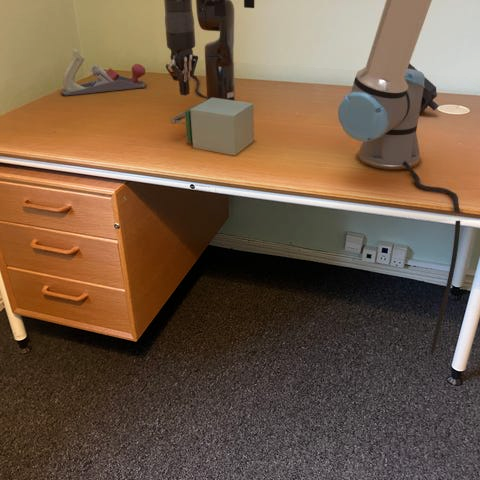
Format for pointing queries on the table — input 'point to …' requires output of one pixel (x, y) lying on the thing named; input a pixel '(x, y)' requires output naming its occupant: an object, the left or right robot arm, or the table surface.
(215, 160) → the table surface
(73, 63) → the hand plane
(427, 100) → the tool
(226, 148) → the grey box
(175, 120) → the drawer
